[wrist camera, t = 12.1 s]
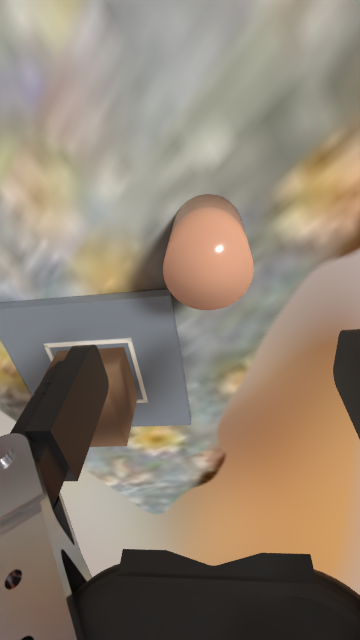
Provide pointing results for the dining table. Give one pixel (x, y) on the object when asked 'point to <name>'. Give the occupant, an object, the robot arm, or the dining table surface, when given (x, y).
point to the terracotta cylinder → (208, 254)
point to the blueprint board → (105, 344)
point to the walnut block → (112, 398)
